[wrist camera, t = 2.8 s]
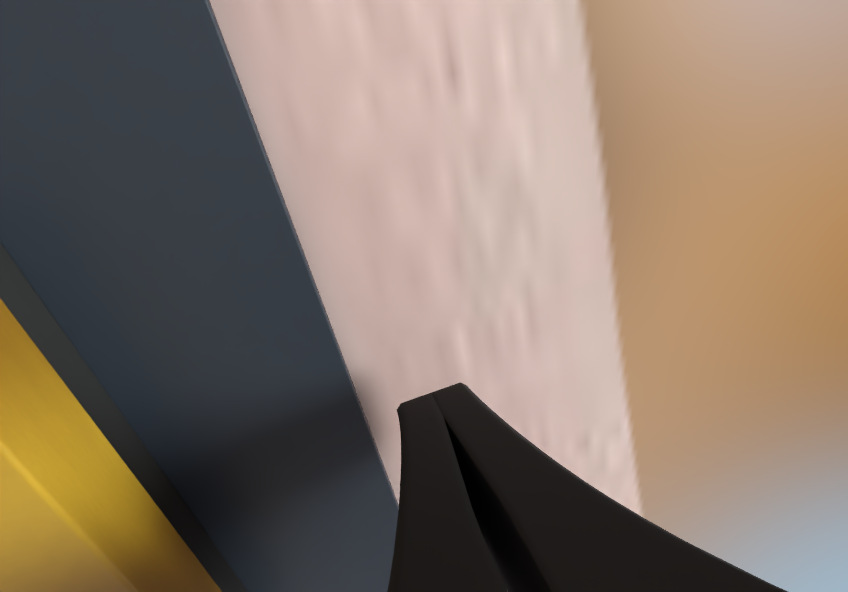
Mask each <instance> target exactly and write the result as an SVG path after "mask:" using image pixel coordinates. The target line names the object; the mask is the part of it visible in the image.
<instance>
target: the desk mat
mask: <svg viewBox="0 0 848 592" xmlns="http://www.w3.org/2000/svg"><path fill="white" fill-rule="evenodd" d="M0 242H1V244H2V245H3V246H4V248H5V249H6V251H7V252H8V253H9V255H10V256H11V258H12V259H13V261H14V262H15V263H16V265H17V266H18V268H19V269H20V270H21V272H22V273H23V275H24V276H25V277H26V279H27V280H28V282H29V283H30V285H31V286H32V287H33V289H34V290H35V292H36V293H37V294H38V296H39V297H40V299H41V300H42V301H43V303H44V304H45V306H46V307H47V309H48V310H49V311H50V313H51V314H52V316H53V317H54V318H55V320H56V321H57V323H58V324H59V325H60V327H61V328H62V330H63V331H64V333H65V334H66V335H67V337H68V338H69V340H70V341H71V342H72V344H73V345H74V347H75V348H76V349H77V351H78V352H79V354H80V355H81V357H82V358H83V359H84V361H85V362H86V364H87V365H88V366H89V368H90V369H91V371H92V372H93V374H94V375H95V376H96V378H97V379H98V381H99V382H100V383H101V385H102V386H103V388H104V389H105V390H106V392H107V393H108V395H109V396H110V398H111V399H112V400H113V402H114V403H115V405H116V406H117V407H118V409H119V410H120V412H121V413H122V414H123V416H124V417H125V419H126V420H127V422H128V423H129V424H130V426H131V427H132V429H133V430H134V431H135V433H136V434H137V436H138V437H139V438H140V440H141V441H142V443H143V444H144V446H145V447H146V448H147V450H148V451H149V453H150V454H151V455H152V457H153V458H154V460H155V461H156V462H157V464H158V465H159V467H160V468H161V470H162V471H163V472H164V474H165V475H166V477H167V478H168V479H169V481H170V482H171V484H172V485H173V487H174V488H175V489H176V491H177V492H178V494H179V495H180V496H181V498H182V499H183V501H184V502H185V503H186V505H187V506H188V508H189V509H190V511H191V512H192V513H193V515H194V516H195V518H196V519H197V520H198V522H199V523H200V525H201V526H202V527H203V529H204V530H205V532H206V533H207V535H208V536H209V537H210V539H211V540H212V542H213V543H214V544H215V546H216V547H217V549H218V550H219V551H220V553H221V554H222V556H223V557H224V559H225V560H226V561H227V563H228V564H229V566H230V567H231V568H232V570H233V571H234V573H235V574H236V576H237V577H238V578H239V580H240V581H241V583H242V584H243V585H244V587H245V588H246V590H247V591H248V592H387V591H388V585H389V579H390V573H391V567H392V560H393V553H394V546H395V537H396V528H397V519H398V511H399V505H398V503H397V500H396V497H395V495H394V492H393V489H392V487H391V484H390V481H389V479H388V476H387V473H386V471H385V468H384V465H383V463H382V460H381V457H380V455H379V452H378V449H377V447H376V444H375V441H374V439H373V436H372V433H371V431H370V428H369V425H368V423H367V420H366V417H365V415H364V412H363V409H362V407H361V404H360V401H359V399H358V396H357V393H356V391H355V388H354V385H353V383H352V380H351V377H350V375H349V372H348V369H347V367H346V364H345V361H344V359H343V356H342V353H341V351H340V348H339V345H338V343H337V340H336V337H335V335H334V332H333V329H332V327H331V324H330V321H329V319H328V316H327V313H326V311H325V308H324V305H323V303H322V300H321V297H320V295H319V292H318V289H317V287H316V284H315V281H314V279H313V276H312V273H311V271H310V268H309V265H308V263H307V260H306V257H305V255H304V252H303V249H302V247H301V244H300V241H299V239H298V236H297V233H296V231H295V228H294V225H293V223H292V220H291V217H290V215H289V212H288V209H287V207H286V204H285V201H284V199H283V196H282V193H281V191H280V188H279V185H278V183H277V180H276V177H275V175H274V172H273V169H272V167H271V164H270V161H269V159H268V156H267V153H266V151H265V148H264V145H263V143H262V140H261V137H260V135H259V132H258V129H257V127H256V124H255V121H254V119H253V116H252V113H251V111H250V108H249V105H248V103H247V100H246V97H245V95H244V92H243V89H242V87H241V84H240V81H239V79H238V76H237V73H236V71H235V68H234V65H233V63H232V60H231V57H230V55H229V52H228V49H227V47H226V44H225V41H224V39H223V36H222V33H221V31H220V28H219V25H218V23H217V20H216V17H215V15H214V12H213V9H212V7H211V4H210V1H209V0H0Z"/></svg>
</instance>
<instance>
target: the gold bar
mask: <svg viewBox="0 0 848 592" xmlns="http://www.w3.org/2000/svg"><path fill="white" fill-rule="evenodd" d="M0 592H248V591H247V590H246V588H245V587H244V585H243V584H242V583H241V581H240V580H239V578H238V577H237V576H236V574H235V573H234V571H233V570H232V568H231V567H230V566H229V564H228V563H227V561H226V560H225V559H224V557H223V556H222V554H221V553H220V551H219V550H218V549H217V547H216V546H215V544H214V543H213V542H212V540H211V539H210V537H209V536H208V535H207V533H206V532H205V530H204V529H203V527H202V526H201V525H200V523H199V522H198V520H197V519H196V518H195V516H194V515H193V513H192V512H191V511H190V509H189V508H188V506H187V505H186V503H185V502H184V501H183V499H182V498H181V496H180V495H179V494H178V492H177V491H176V489H175V488H174V487H173V485H172V484H171V482H170V481H169V479H168V478H167V477H166V475H165V474H164V472H163V471H162V470H161V468H160V467H159V465H158V464H157V462H156V461H155V460H154V458H153V457H152V455H151V454H150V453H149V451H148V450H147V448H146V447H145V446H144V444H143V443H142V441H141V440H140V438H139V437H138V436H137V434H136V433H135V431H134V430H133V429H132V427H131V426H130V424H129V423H128V422H127V420H126V419H125V417H124V416H123V414H122V413H121V412H120V410H119V409H118V407H117V406H116V405H115V403H114V402H113V400H112V399H111V398H110V396H109V395H108V393H107V392H106V390H105V389H104V388H103V386H102V385H101V383H100V382H99V381H98V379H97V378H96V376H95V375H94V374H93V372H92V371H91V369H90V368H89V366H88V365H87V364H86V362H85V361H84V359H83V358H82V357H81V355H80V354H79V352H78V351H77V349H76V348H75V347H74V345H73V344H72V342H71V341H70V340H69V338H68V337H67V335H66V334H65V333H64V331H63V330H62V328H61V327H60V325H59V324H58V323H57V321H56V320H55V318H54V317H53V316H52V314H51V313H50V311H49V310H48V309H47V307H46V306H45V304H44V303H43V301H42V300H41V299H40V297H39V296H38V294H37V293H36V292H35V290H34V289H33V287H32V286H31V285H30V283H29V282H28V280H27V279H26V277H25V276H24V275H23V273H22V272H21V270H20V269H19V268H18V266H17V265H16V263H15V262H14V261H13V259H12V258H11V256H10V255H9V253H8V252H7V251H6V249H5V248H4V246H3V245H2V244H1V242H0Z"/></svg>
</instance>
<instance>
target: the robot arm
mask: <svg viewBox="0 0 848 592" xmlns="http://www.w3.org/2000/svg"><path fill="white" fill-rule="evenodd" d="M397 412H398V416H399V422H400V431H401V481H400V500H399V511H398V519H397V528H396V537H395V546H394V553H393V560H392V567H391V573H390V579H389V585H388V591H387V592H787V591H785V590H783V589H781V588H779V587H776V586H774V585H772V584H770V583H768V582H766V581H764V580H761V579H760V578H758V577H756V576H753V575H751V574H750V573H748V572H745V571H744V570H742V569H740V568H738V567H736V566H733V565H732V564H730V563H727V562H726V561H723V560H722V559H720V558H717V557H715V556H714V555H712V554H709V553H708V552H706V551H704V550H701V549H700V548H697V547H695V546H693V545H692V544H690V543H688V542H685V541H684V540H682V539H680V538H678V537H676V536H675V535H673V534H671V533H669V532H668V531H666V530H664V529H662V528H660V527H659V526H657V525H655V524H653V523H651V522H649V521H648V520H646V519H644V518H643V517H641V516H639V515H638V514H636V513H634V512H633V511H631V510H629V509H628V508H626V507H624V506H623V505H621V504H619V503H618V502H616V501H614V500H613V499H611V498H609V497H608V496H606V495H605V494H603V493H602V492H600V491H598V490H597V489H595V488H594V487H592V486H591V485H589V484H588V483H586V482H585V481H583V480H582V479H580V478H579V477H578V476H576V475H575V474H573V473H572V472H570V471H569V470H567V469H566V468H565V467H563V466H562V465H560V464H559V463H557V462H556V461H555V460H553V459H552V458H551V457H549V456H548V455H547V454H545V453H544V452H542V451H541V450H540V449H539V448H537V447H536V446H535V445H534V444H532V443H531V442H530V441H528V440H527V439H526V438H525V437H523V436H522V435H521V434H519V433H518V432H517V431H516V430H514V429H513V428H512V427H511V426H510V425H508V424H507V423H506V422H505V421H504V420H503V419H501V418H500V417H499V416H498V415H497V414H496V413H494V412H493V411H492V410H491V409H490V408H489V407H488V406H487V405H486V404H485V403H483V402H482V401H481V400H480V399H479V398H478V397H477V396H476V395H475V394H474V393H473V392H472V391H471V390H470V389H469V388H468V387H467V386H466V385H464V384H462V383H458V384H455V385H452V386H449V387H446V388H443V389H441V390H438V391H435V392H432V393H429V394H426V395H424V396H421V397H418V398H415V399H412V400H409V401H407V402H404V403H401V404H400V406H399V407H398V409H397Z"/></svg>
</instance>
